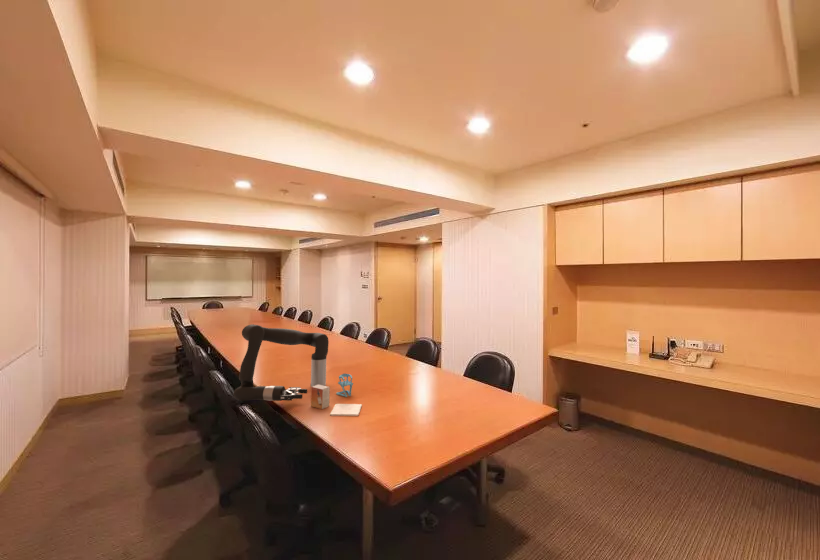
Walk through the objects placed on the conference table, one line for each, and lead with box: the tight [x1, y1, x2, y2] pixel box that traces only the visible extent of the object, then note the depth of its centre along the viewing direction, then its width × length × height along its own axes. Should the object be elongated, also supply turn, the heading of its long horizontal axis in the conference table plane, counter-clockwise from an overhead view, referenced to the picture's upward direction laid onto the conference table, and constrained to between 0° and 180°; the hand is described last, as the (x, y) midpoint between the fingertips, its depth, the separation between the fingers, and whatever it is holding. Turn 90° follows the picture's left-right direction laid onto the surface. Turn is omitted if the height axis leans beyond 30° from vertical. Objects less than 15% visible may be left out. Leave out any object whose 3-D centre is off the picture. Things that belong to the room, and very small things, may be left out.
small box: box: [310, 384, 331, 410], centre depth 180 cm, size 8×6×10 cm
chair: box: [336, 373, 354, 398], centre depth 199 cm, size 8×8×12 cm
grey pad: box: [329, 403, 363, 417], centre depth 175 cm, size 14×14×1 cm
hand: (304, 393), depth 180 cm, fingers open, 8 cm apart
